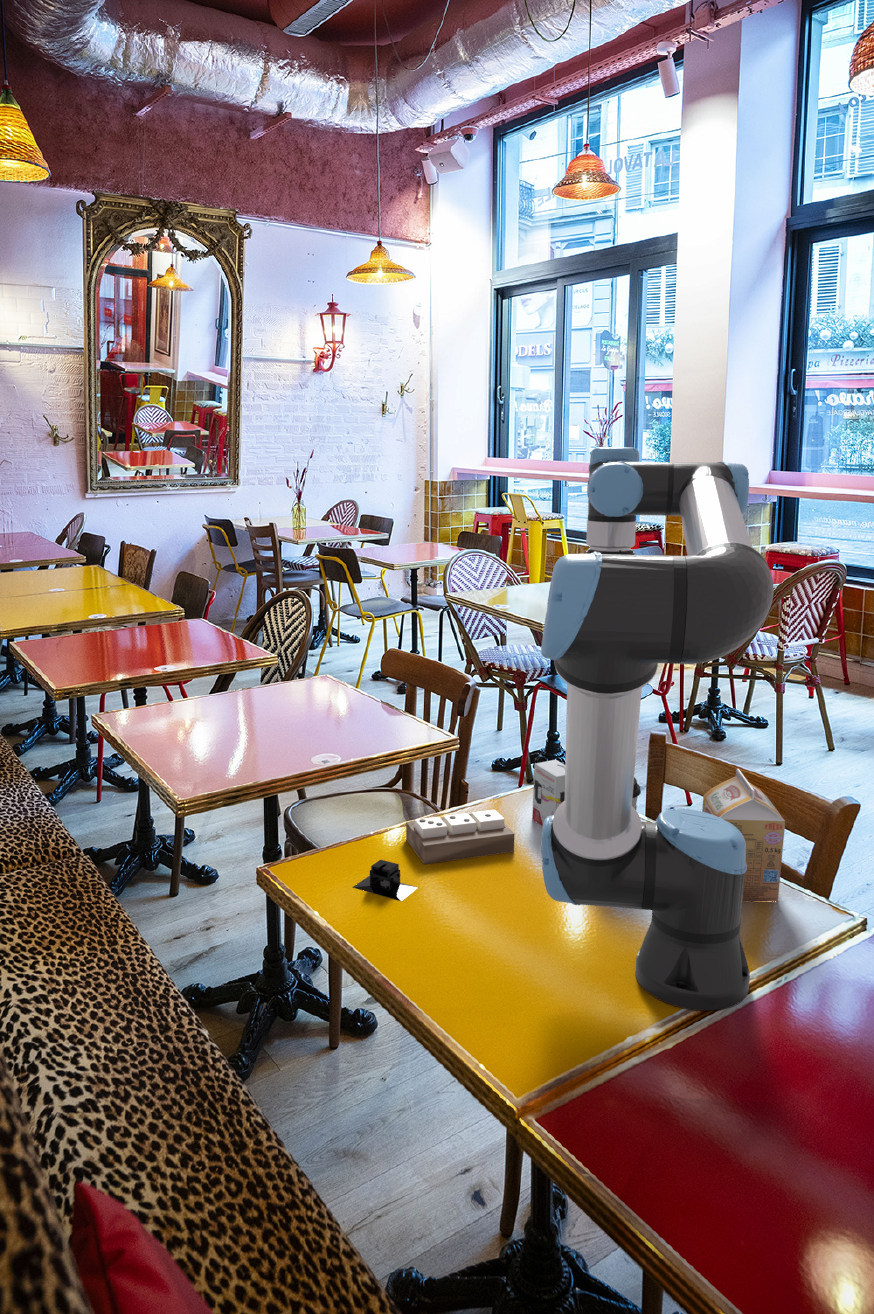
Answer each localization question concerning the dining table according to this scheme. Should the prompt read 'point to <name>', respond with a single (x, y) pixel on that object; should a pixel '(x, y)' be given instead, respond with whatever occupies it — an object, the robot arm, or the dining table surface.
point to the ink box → (547, 789)
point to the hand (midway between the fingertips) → (603, 693)
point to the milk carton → (752, 833)
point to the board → (460, 844)
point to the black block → (385, 881)
